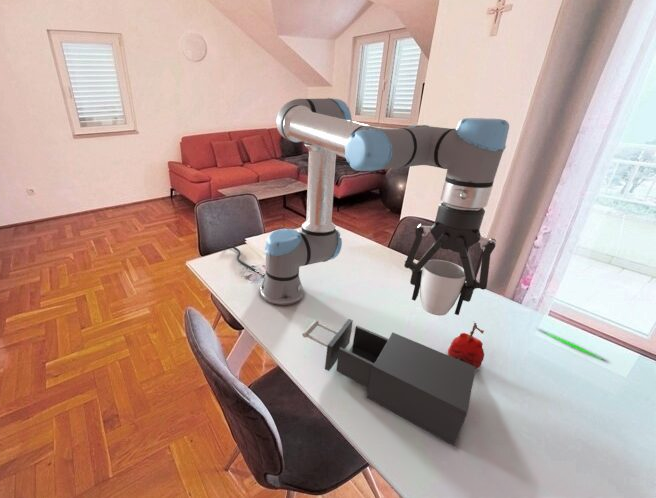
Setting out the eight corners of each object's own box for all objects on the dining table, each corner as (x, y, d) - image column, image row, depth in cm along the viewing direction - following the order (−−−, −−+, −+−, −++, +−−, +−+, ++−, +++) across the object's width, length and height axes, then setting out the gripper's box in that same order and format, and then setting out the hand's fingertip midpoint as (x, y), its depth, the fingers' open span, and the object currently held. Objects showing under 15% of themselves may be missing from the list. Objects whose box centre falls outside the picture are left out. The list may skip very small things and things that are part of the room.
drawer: (295, 353, 85) (297, 329, 82) (318, 328, 94) (320, 306, 91) (391, 405, 71) (398, 379, 67) (407, 370, 80) (413, 346, 77)
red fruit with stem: (482, 364, 83) (500, 319, 77) (474, 379, 78) (491, 332, 72) (451, 348, 88) (465, 304, 82) (441, 361, 84) (455, 316, 78)
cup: (461, 322, 65) (475, 280, 61) (419, 317, 66) (429, 277, 62) (447, 299, 72) (458, 261, 68) (409, 295, 73) (418, 258, 69)
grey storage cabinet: (366, 397, 74) (373, 366, 70) (386, 361, 84) (392, 332, 80) (454, 446, 63) (467, 412, 59) (464, 398, 73) (476, 366, 69)
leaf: (605, 363, 84) (606, 360, 83) (540, 332, 94) (541, 330, 94) (606, 361, 84) (607, 359, 84) (541, 331, 95) (542, 329, 94)
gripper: (400, 199, 62) (382, 295, 71) (532, 222, 51) (491, 333, 60) (409, 191, 68) (391, 281, 77) (530, 210, 56) (493, 313, 65)
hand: (435, 304), depth 68 cm, fingers closed on cup, 8 cm apart
